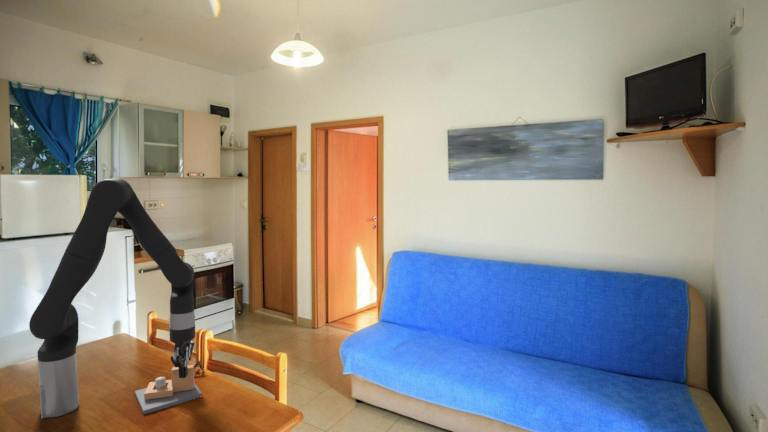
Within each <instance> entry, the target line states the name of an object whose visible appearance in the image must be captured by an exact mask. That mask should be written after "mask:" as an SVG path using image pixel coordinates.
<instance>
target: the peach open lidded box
mask: <svg viewBox="0 0 768 432" xmlns="http://www.w3.org/2000/svg"><path fill="white" fill-rule="evenodd" d="M194 365H195V364H188V365H187V370H188V375H187V376H186V377H185V378H179V367H175V366H172V367H171V370H170V371H171V373H170V374H171V376H170V377H171V379H166V388H164V389H156V388H155V381H151V382H148V385H147V387H146V388H147V389H146V391H145V393H144V400H148V399H155V398H162V397H170V396H173V393H174V392H177V391H185V390H193V389H194V383H195V374H194V373H195V370H194Z"/></svg>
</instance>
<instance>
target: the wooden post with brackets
mask: <svg viewBox="0 0 768 432" xmlns="http://www.w3.org/2000/svg"><path fill="white" fill-rule="evenodd" d="M193 365H194V373H197V372H199V373H200V372H201V371H204V369H205V368H204V366H202V360H201V359H200V360H198V361H196V363H195V364H193ZM196 368H199V369H196ZM195 369H196V371H195Z"/></svg>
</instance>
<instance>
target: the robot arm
mask: <svg viewBox="0 0 768 432" xmlns="http://www.w3.org/2000/svg"><path fill="white" fill-rule="evenodd" d="M118 213H119V214H120V215H121V216H122V217H123V218H124V219H125V220H126V222H127V223H128V225H129V226H130V227H131V229H132V231H133V233H134V236H135V237H136V238H137V242H138V243H139V244H140V246H141V248H143V250H144V251H145V252H146V253H147V255H148V256H149V257H150V258H151V259H152V261H153V262H154V263H156V264H157V266H158V267H159V270H160V271H161V273H162V275H163V276H164V278H165V279H166V280H167V282H168V283H170V284H171V285H170V287H171V295H170V299H169V319H168V320H169V321H168V323H169V324H168V325H169V327H168V328H169V329H168V330H169V341H170V342H171V343H174V346H173V347H174V348H173V351H174V354H173V355H171V356H170V361H171V363H172V364H173V367H179V378H185V377H186V376H187V375H188V370H187V365H189V362H190V361H192V354H193V350H194V345H195V342H193V341H192V340H194V339H195V338H196V315H195V298H194V287H195V270H194V268H193V266H192V265H191V264H190V263H188V262H186V261H183V260H182V258H181V257H180V255H178V251H177V249H176V248H175V246H174V245H173V244H172V242H171V241H170V240H169V239H168V238H167V237H166V236H165V234H164V233H163V231H162V230H161V229H160V228H159V227H158V226H157V224H156V223H155V222H154V220H152V217H150V214H149V213H148V212H147V211H146V208H145V207H144V206H143V205H142V203H141V201H140V200H139V198H138V196H137V194H136V192H135V190H134V189H133V187H132V186H131V183H129V182H128V181H127V180H125V179H122V178H119V177H113V178H112V177H111V178H106V179H105V178H104V179H101V180H99V181H98V182H96V183H95V185H94V186H93V187H92V189H91V191H90V193H89V197H88V200H87V203H86V206H85V209H84V212H83V214H82V217H81V220H80V222H79V224H78V225H77V227H76V229H75V231H74V233H73V234H72V236H71V239H70V241H69V243H68V244H67V247H66V249H65V250H64V253H63V255H62V257H61V258H60V259H61V260H59V264H58V267H57V268H56V270H55V273H54V275H53V277H52V279H51V281H50V284H49V286H48V288H47V290H46V292H45V294H44V295H43V298H42V299H41V301H40V302H39V303H38V305H37V307H36V308H35V310H34V312H33V313H32V315H31V317H30V320H29V330H30V332H31V335H33V336H34V337H35V338H36V339H40V340H43V342H42V343H41V344H40V345H41V346H39V348H38V350H37V366H38V368H37V369H38V380H39V381H38V384H39V385H38V386H39V387H38V388H39V389H38V390H39V405H40V406H39V407H40V418H41V419H46V418H56V417H60V416H61V417H62V416H64V415H67V414H69V413H71V412H73V411H75V410H76V409H77V408H79V405H80V402H79V400H80V398H79V385H78V384H79V382H78V365H77V364H78V362H77V345H78V342H79V315H78V311H77V309H76V307H75V305H73V304H72V303H73V301H74V299H75V297H77V295H78V293H79V292H81V290H82V289H83V288H84V286H86V285H87V283H88V282H89V280H91V278H92V277H93V276H94V274H95V272H96V270H97V268H98V266H99V265H100V262H101V260H102V258H103V255H104V253H105V249H106V245H107V239H108V238H107V237H108V232H109V228H110V227H111V224H112V222H113V220H115V219H114V218H115V217H116V215H117V214H118Z"/></svg>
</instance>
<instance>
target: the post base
mask: <svg viewBox="0 0 768 432" xmlns="http://www.w3.org/2000/svg"><path fill="white" fill-rule="evenodd" d="M166 380H167V378H166V376H159V377H156V378H155V379H154V382H155V388H156V389H164V388H166ZM146 389H147V387H145V388H141V389H138V390H135V391H134V396H135V398H136V400H137V403H138V406H139V408H140V410H141V412H142V415H146V414H150V413H154V412H157V411H161V410H164V409H167V408H170V407H172V406H175V405H176V406H177V405H179V404H180V405H181V404H183V403H186V402H189V400H190V401H193V400H196V399H195V398H197V399H199V398H198V397H200V396H202V397H203V392H202V391H201V390H200V388H199V387H198V386H197V384H196V383H195V382H194V389H193V390H185V391H177V392H174V393H173V396H170V397H162V398H155V399H148V400H144V393H145V391H146ZM200 398H201V397H200ZM192 399H193V400H192Z"/></svg>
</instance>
